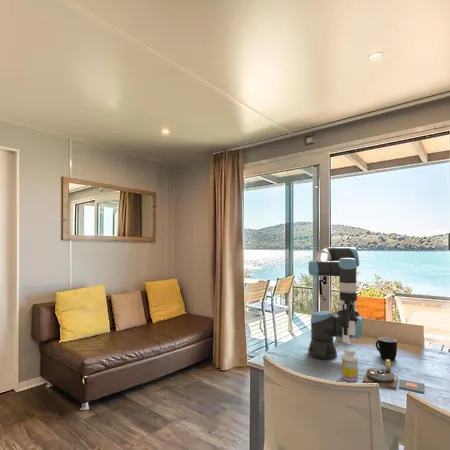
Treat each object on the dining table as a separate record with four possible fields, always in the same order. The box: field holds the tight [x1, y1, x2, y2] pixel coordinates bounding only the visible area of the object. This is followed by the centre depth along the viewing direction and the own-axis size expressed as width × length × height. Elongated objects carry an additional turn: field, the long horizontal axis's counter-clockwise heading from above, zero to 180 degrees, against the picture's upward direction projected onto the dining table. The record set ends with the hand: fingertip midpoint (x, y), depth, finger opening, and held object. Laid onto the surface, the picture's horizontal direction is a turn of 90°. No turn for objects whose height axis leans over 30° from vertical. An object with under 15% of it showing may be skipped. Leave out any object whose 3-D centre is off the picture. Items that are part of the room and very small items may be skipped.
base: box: [362, 371, 399, 390], centre depth 143 cm, size 13×13×1 cm
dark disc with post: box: [366, 359, 395, 382], centre depth 144 cm, size 11×11×7 cm
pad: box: [398, 378, 425, 394], centre depth 137 cm, size 9×9×1 cm
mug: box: [375, 336, 398, 362], centre depth 171 cm, size 12×9×10 cm
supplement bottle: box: [341, 347, 359, 382], centre depth 146 cm, size 7×7×13 cm
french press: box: [333, 337, 351, 346], centre depth 199 cm, size 10×12×25 cm
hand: (349, 338), depth 146 cm, fingers open, 13 cm apart
